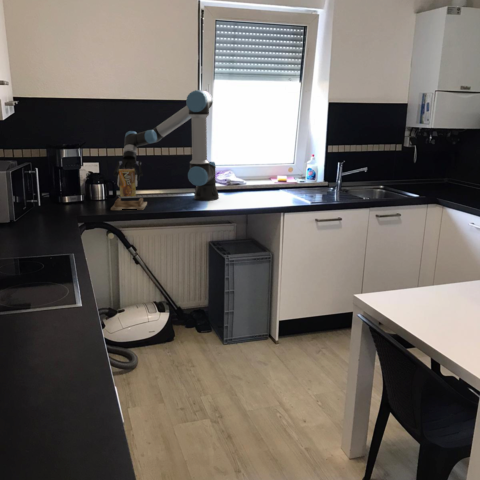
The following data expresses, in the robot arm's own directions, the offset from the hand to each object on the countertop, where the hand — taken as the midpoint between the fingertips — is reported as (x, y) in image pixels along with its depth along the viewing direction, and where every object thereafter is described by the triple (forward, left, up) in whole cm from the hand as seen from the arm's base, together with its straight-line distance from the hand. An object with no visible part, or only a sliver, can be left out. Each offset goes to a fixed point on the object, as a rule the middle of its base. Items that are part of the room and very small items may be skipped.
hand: (127, 185), depth 302 cm
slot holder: (-1, -1, -13) cm, 13 cm away
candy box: (0, -1, -7) cm, 7 cm away
